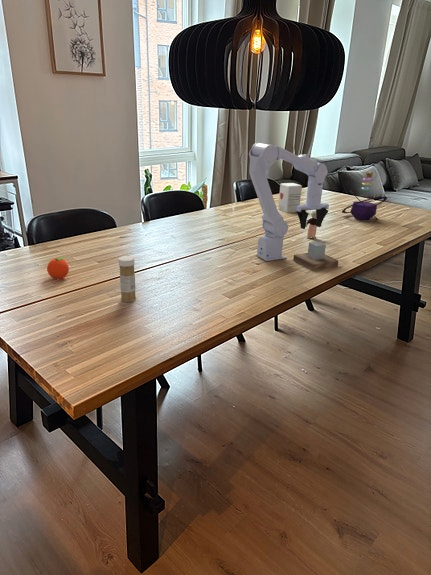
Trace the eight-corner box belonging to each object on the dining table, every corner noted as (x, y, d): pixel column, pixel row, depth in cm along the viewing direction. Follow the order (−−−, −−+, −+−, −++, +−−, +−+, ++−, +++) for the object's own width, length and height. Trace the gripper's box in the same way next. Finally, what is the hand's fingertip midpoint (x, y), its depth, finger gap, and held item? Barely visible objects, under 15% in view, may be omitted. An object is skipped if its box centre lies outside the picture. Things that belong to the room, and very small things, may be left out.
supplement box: (277, 209, 256) (279, 183, 250) (290, 208, 260) (293, 182, 254) (286, 213, 249) (288, 186, 243) (299, 211, 252) (302, 185, 246)
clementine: (65, 272, 155) (62, 253, 152) (76, 277, 151) (74, 257, 149) (44, 278, 149) (41, 258, 147) (55, 283, 146) (53, 263, 143)
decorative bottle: (388, 225, 229) (397, 176, 220) (347, 224, 229) (354, 174, 220) (374, 215, 250) (382, 169, 240) (337, 214, 250) (343, 168, 240)
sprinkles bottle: (130, 295, 139) (128, 254, 133) (139, 299, 136) (137, 258, 131) (117, 299, 136) (115, 257, 130) (126, 304, 133) (124, 261, 128)
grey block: (314, 259, 168) (316, 245, 166) (307, 256, 171) (308, 242, 169) (324, 258, 170) (325, 244, 167) (316, 254, 173) (318, 241, 171)
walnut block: (312, 272, 164) (313, 264, 163) (293, 262, 174) (293, 254, 173) (337, 267, 169) (338, 260, 168) (317, 258, 179) (318, 251, 178)
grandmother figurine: (306, 239, 201) (309, 211, 196) (302, 237, 205) (305, 209, 200) (321, 238, 203) (325, 211, 198) (317, 236, 207) (320, 209, 202)
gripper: (305, 197, 169) (301, 231, 174) (335, 194, 175) (331, 228, 180) (294, 193, 174) (291, 227, 180) (324, 191, 180) (320, 224, 186)
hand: (310, 227), depth 180 cm, fingers open, 7 cm apart
